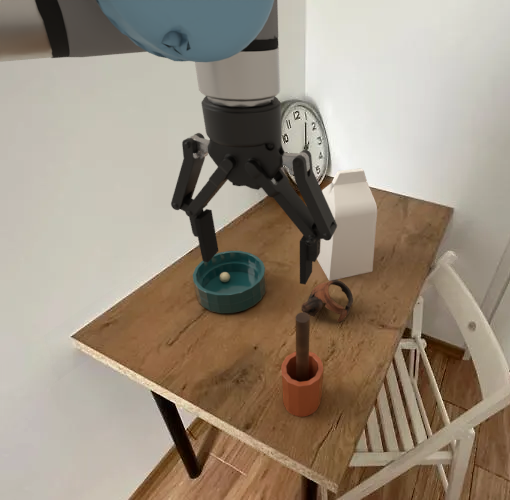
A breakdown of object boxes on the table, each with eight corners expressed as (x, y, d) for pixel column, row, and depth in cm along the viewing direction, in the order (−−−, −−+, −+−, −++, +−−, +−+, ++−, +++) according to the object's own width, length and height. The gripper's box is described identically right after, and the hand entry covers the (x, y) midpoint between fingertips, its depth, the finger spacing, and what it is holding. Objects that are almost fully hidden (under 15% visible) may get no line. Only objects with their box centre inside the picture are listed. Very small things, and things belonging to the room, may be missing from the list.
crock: (297, 424, 58) (297, 393, 53) (275, 395, 62) (273, 364, 57) (328, 401, 62) (331, 370, 57) (306, 375, 66) (306, 344, 61)
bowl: (215, 326, 74) (211, 305, 70) (186, 286, 83) (181, 266, 79) (278, 295, 82) (277, 276, 79) (246, 262, 91) (244, 243, 88)
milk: (329, 280, 88) (335, 185, 72) (314, 254, 96) (316, 163, 81) (372, 271, 92) (386, 178, 76) (354, 246, 100) (364, 158, 85)
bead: (223, 285, 83) (221, 277, 82) (218, 280, 84) (217, 272, 83) (232, 281, 84) (231, 274, 83) (227, 276, 86) (226, 268, 84)
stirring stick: (300, 404, 61) (301, 324, 49) (294, 395, 62) (292, 316, 50) (310, 397, 62) (312, 318, 50) (303, 389, 63) (304, 309, 51)
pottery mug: (322, 289, 86) (341, 271, 81) (343, 323, 83) (364, 305, 78) (284, 304, 77) (303, 284, 72) (307, 342, 74) (328, 324, 69)
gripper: (374, 103, 35) (355, 269, 48) (154, 74, 39) (189, 233, 52) (358, 124, 29) (341, 307, 42) (101, 88, 33) (155, 263, 46)
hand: (257, 266), depth 47 cm, fingers open, 13 cm apart
